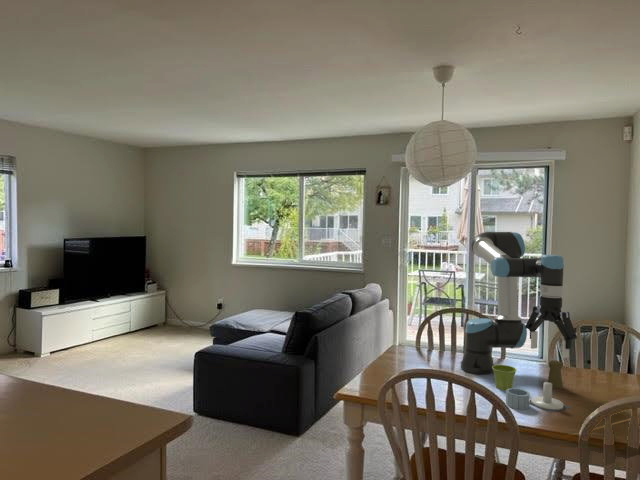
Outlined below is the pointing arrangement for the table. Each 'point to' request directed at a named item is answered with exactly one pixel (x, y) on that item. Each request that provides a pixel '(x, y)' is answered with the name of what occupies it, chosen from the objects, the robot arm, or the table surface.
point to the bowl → (518, 398)
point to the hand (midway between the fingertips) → (549, 352)
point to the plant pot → (503, 376)
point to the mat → (552, 410)
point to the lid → (547, 399)
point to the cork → (555, 374)
